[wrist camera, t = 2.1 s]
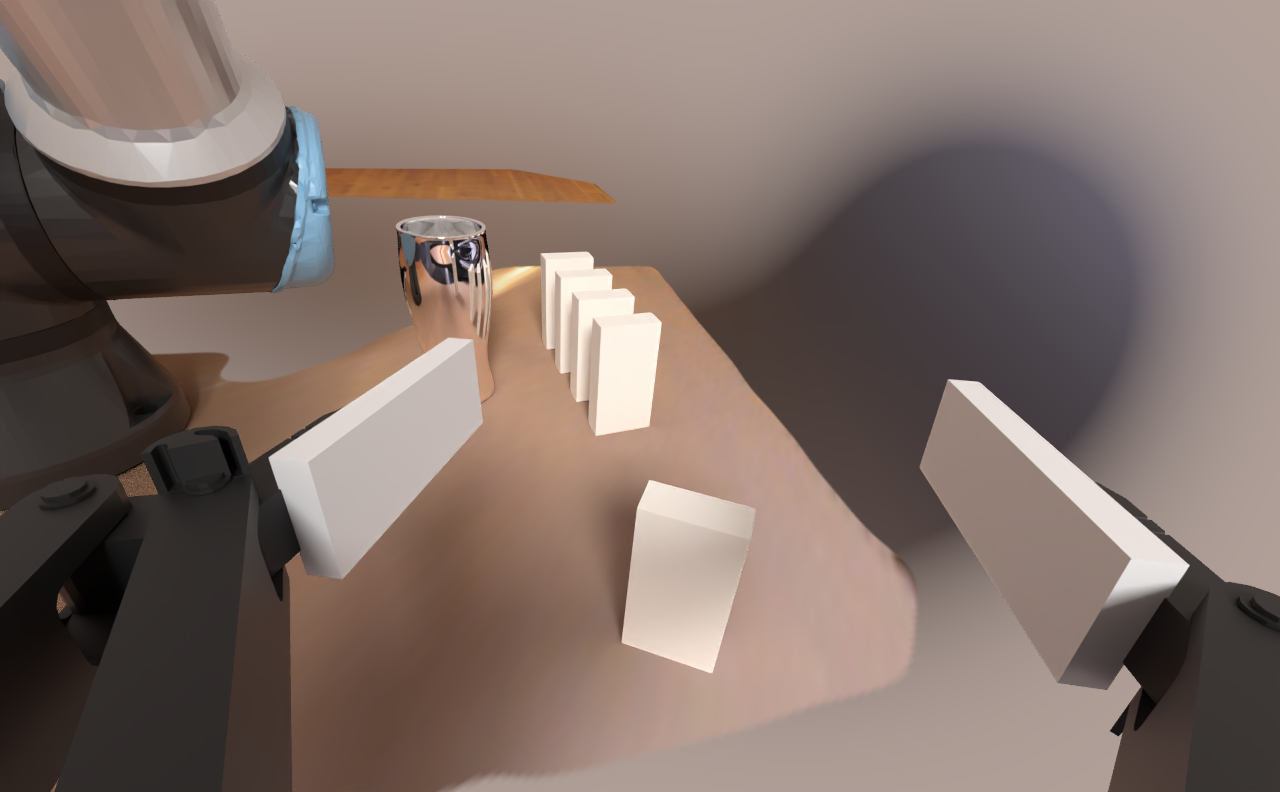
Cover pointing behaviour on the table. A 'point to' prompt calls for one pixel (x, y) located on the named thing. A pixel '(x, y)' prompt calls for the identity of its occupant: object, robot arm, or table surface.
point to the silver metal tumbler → (448, 284)
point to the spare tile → (684, 573)
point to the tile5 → (548, 268)
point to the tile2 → (622, 371)
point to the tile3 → (581, 331)
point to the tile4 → (563, 306)
